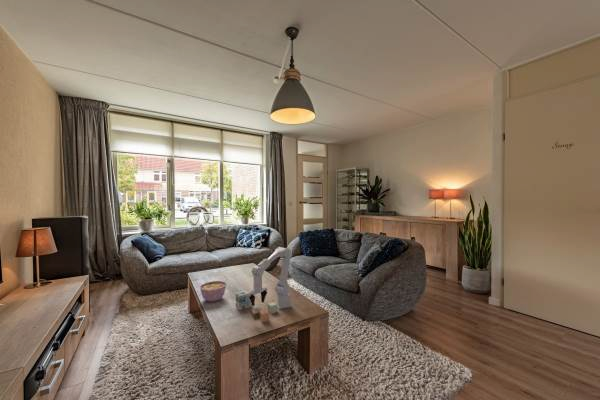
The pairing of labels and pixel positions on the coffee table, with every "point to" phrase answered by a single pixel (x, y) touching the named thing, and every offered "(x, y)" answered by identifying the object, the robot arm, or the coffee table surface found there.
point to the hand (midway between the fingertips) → (258, 303)
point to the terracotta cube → (264, 315)
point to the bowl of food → (213, 290)
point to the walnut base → (256, 312)
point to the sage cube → (272, 307)
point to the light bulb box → (243, 300)
